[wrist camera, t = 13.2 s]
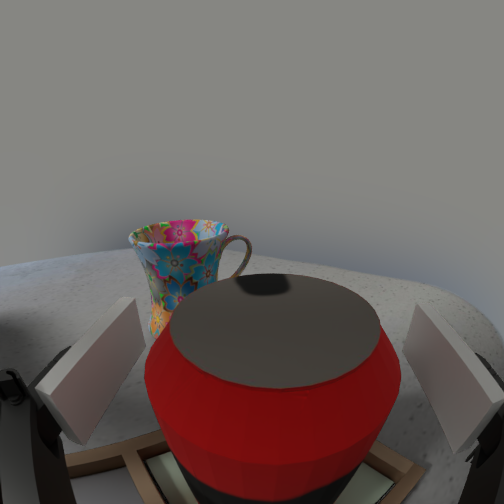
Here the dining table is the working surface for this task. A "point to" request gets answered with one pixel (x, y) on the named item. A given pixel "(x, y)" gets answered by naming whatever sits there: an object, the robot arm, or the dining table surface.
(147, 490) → the frame
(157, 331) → the mug
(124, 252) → the dining table surface
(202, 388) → the soda can
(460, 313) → the dining table surface
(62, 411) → the robot arm
